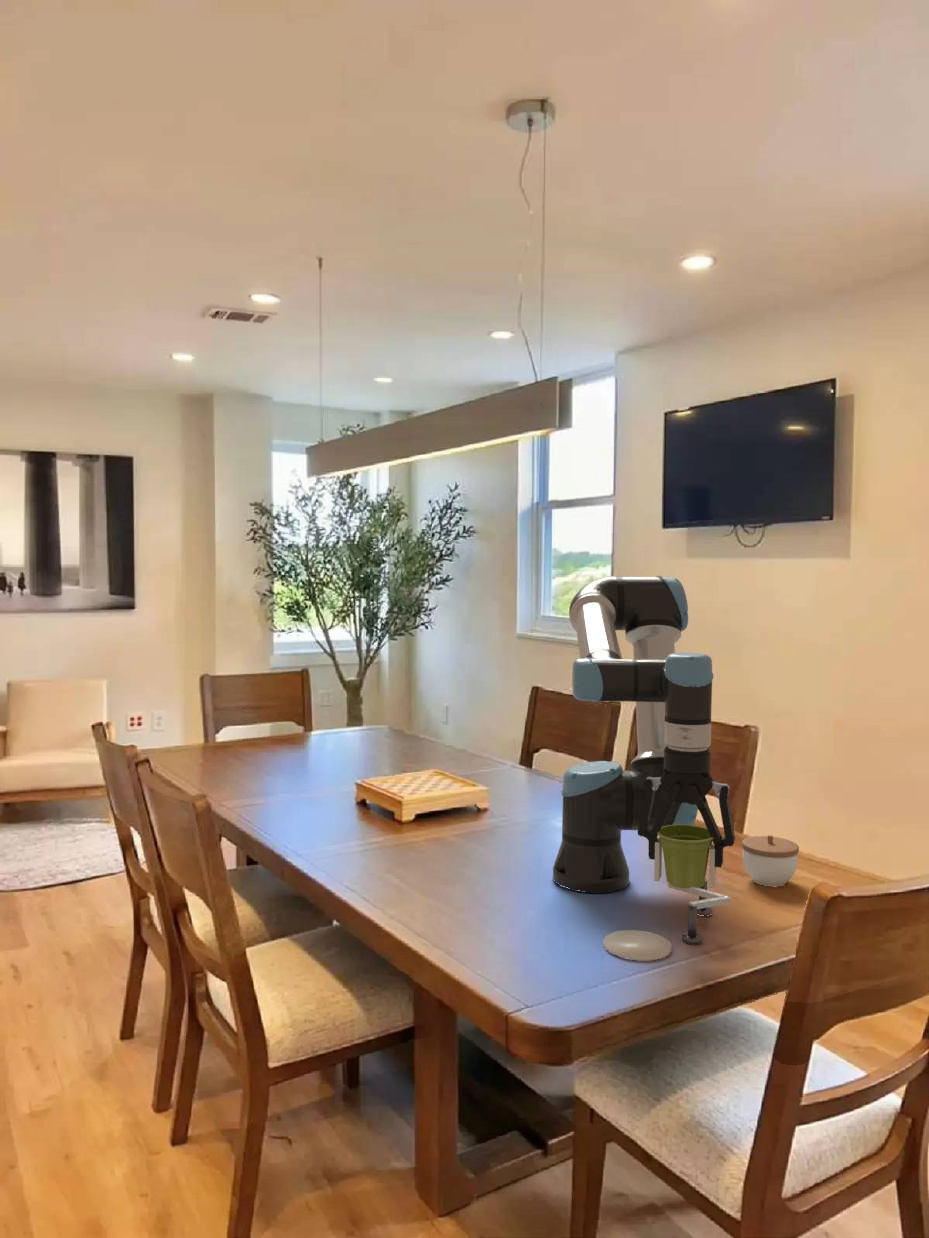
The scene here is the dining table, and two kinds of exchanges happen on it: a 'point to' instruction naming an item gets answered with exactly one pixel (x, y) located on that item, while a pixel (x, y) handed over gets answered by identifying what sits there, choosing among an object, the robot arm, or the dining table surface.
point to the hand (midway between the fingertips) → (684, 881)
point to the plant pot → (685, 854)
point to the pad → (637, 945)
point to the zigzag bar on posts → (700, 909)
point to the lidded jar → (770, 859)
